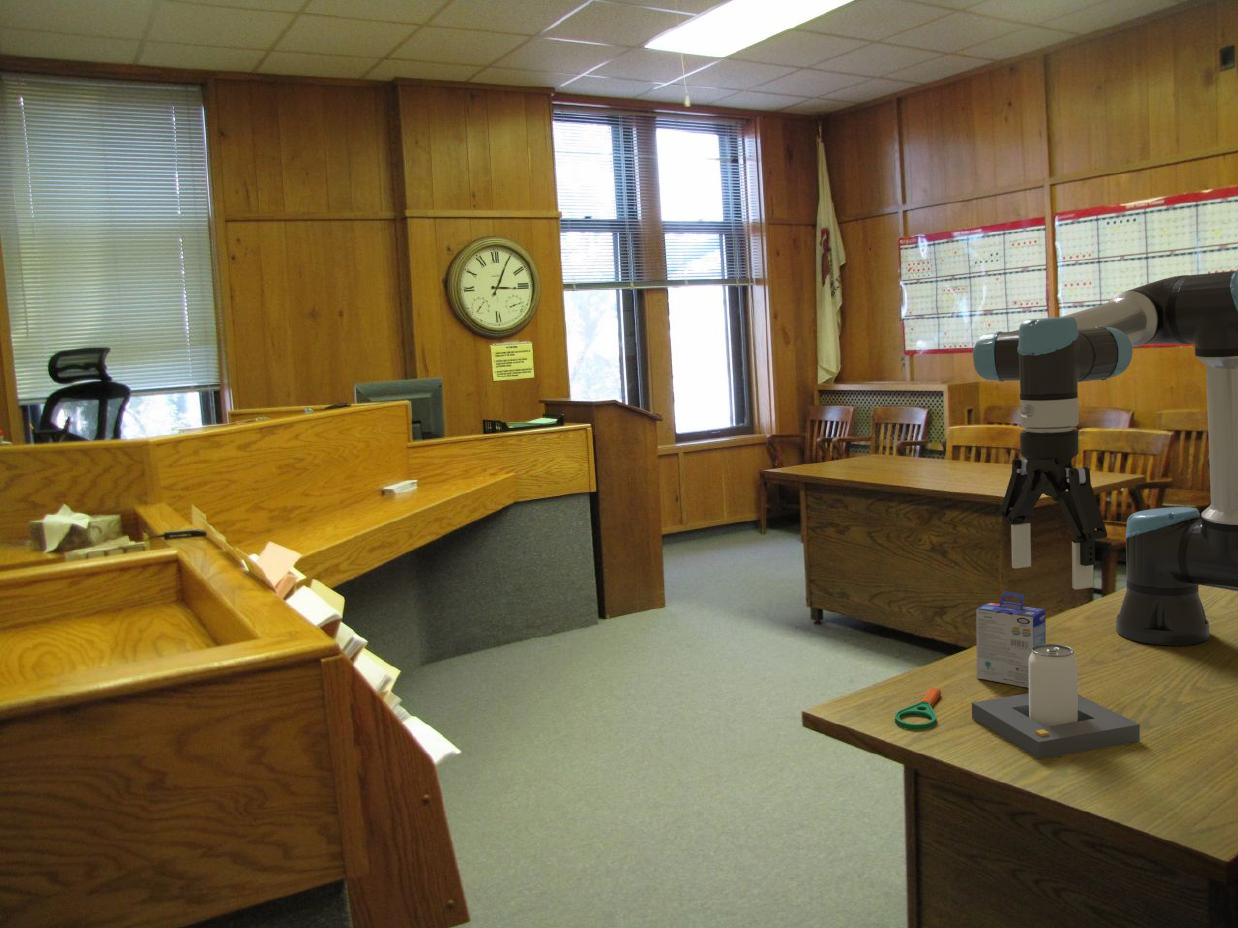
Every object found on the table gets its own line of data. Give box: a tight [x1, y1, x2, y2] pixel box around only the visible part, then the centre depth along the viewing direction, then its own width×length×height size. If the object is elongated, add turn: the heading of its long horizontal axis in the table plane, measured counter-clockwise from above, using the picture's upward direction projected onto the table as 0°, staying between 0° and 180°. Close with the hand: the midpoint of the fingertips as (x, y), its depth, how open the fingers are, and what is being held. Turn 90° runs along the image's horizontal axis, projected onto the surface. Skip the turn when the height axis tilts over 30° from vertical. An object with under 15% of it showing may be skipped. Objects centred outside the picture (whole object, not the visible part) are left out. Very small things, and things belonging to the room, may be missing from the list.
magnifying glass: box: [894, 687, 942, 731], centre depth 157 cm, size 15×6×2 cm, turn 149°
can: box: [1028, 643, 1079, 727], centre depth 147 cm, size 6×6×12 cm
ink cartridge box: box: [975, 591, 1047, 689], centre depth 167 cm, size 10×6×14 cm, turn 46°
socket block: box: [971, 692, 1141, 760], centre depth 147 cm, size 16×16×3 cm
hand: (1050, 577), depth 145 cm, fingers open, 13 cm apart
